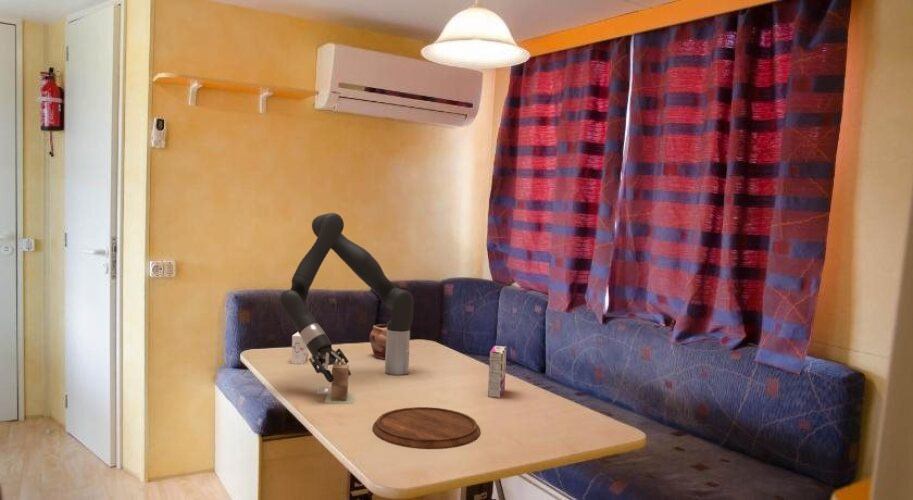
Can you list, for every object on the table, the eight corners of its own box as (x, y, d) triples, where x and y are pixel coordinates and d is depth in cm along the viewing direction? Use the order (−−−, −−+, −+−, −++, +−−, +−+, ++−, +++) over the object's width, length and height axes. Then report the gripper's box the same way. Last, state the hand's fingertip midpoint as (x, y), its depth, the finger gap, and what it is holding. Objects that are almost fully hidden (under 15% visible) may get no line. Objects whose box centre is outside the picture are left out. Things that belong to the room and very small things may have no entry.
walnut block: (347, 396, 221) (348, 364, 220) (346, 401, 216) (347, 368, 215) (332, 396, 220) (333, 364, 220) (330, 400, 215) (332, 367, 215)
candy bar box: (491, 389, 241) (493, 345, 240) (504, 390, 240) (507, 346, 239) (486, 397, 230) (489, 351, 229) (500, 398, 229) (503, 352, 228)
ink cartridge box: (296, 359, 273) (297, 324, 272) (308, 359, 273) (309, 325, 272) (290, 363, 265) (292, 328, 264) (302, 364, 265) (304, 328, 264)
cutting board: (422, 407, 215) (423, 400, 215) (501, 431, 195) (502, 423, 195) (349, 429, 191) (350, 421, 191) (431, 459, 171) (431, 450, 170)
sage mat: (353, 396, 223) (354, 395, 223) (352, 404, 214) (352, 403, 214) (327, 396, 222) (327, 394, 222) (324, 403, 213) (324, 402, 213)
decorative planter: (359, 353, 291) (361, 322, 290) (383, 350, 298) (385, 320, 297) (381, 362, 274) (383, 330, 274) (406, 359, 281) (407, 328, 281)
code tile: (344, 388, 233) (344, 387, 233) (342, 395, 224) (342, 394, 224) (319, 387, 232) (319, 386, 232) (316, 394, 223) (316, 393, 223)
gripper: (307, 336, 215) (333, 376, 210) (335, 330, 227) (360, 368, 222) (294, 349, 217) (319, 389, 212) (323, 343, 230) (347, 380, 225)
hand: (340, 378), depth 217 cm, fingers open, 8 cm apart
